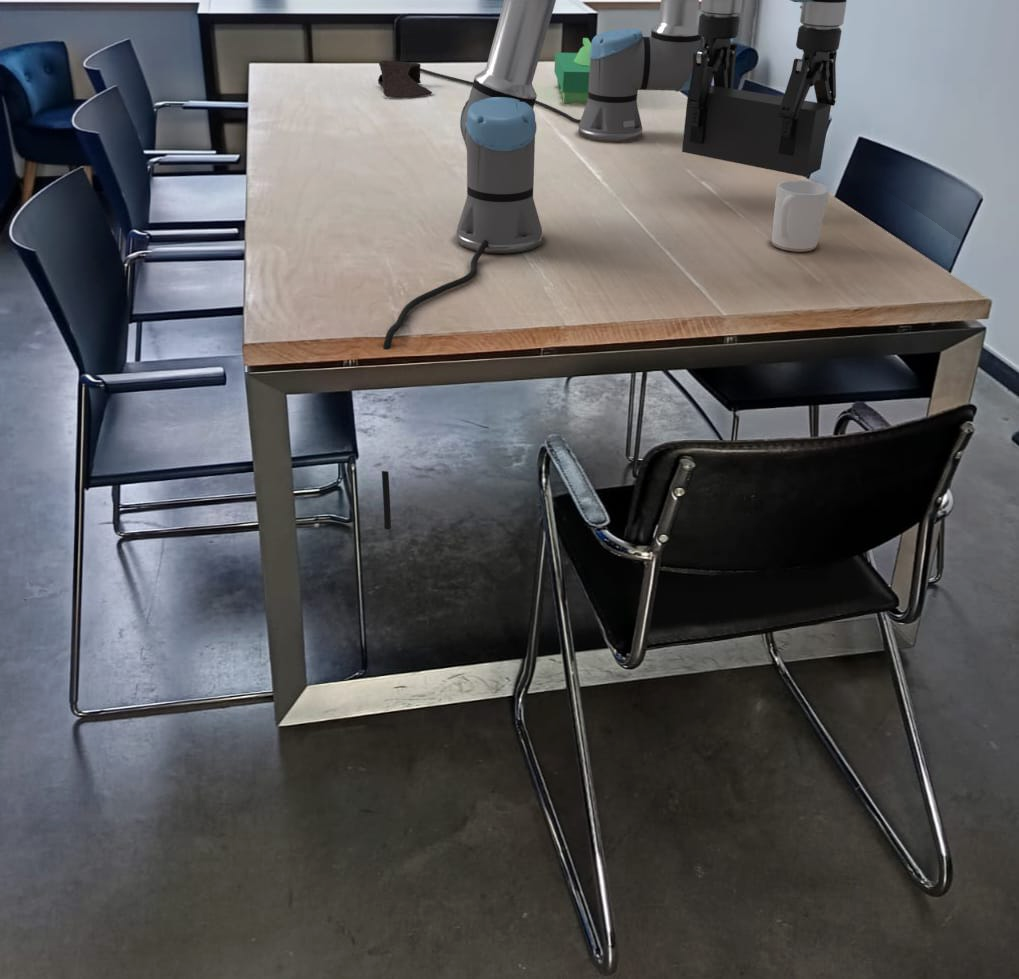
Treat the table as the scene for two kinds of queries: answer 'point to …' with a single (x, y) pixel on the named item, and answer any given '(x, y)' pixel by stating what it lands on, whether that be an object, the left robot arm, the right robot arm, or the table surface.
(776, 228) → the mug
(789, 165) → the box
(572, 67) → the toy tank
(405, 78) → the axe head
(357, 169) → the table surface
